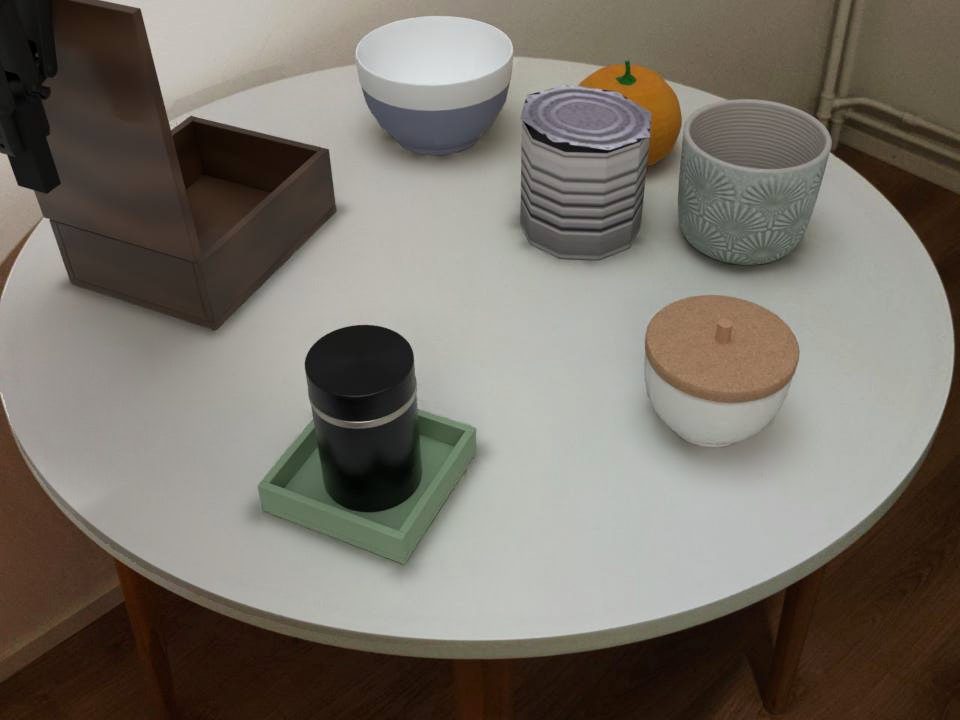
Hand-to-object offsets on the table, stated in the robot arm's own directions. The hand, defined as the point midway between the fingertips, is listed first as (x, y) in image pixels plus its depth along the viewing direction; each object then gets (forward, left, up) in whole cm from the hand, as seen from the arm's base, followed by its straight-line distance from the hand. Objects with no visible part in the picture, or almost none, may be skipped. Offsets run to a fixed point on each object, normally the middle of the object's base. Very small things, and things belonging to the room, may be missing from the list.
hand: (39, 184), depth 76 cm
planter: (+37, -44, -16) cm, 59 cm away
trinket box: (+13, -48, -16) cm, 52 cm away
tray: (-3, -28, -16) cm, 32 cm away
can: (+33, -30, -16) cm, 47 cm away
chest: (+16, 0, -16) cm, 22 cm away
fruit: (+47, -29, -16) cm, 57 cm away
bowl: (+43, -10, -16) cm, 47 cm away
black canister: (-3, -28, -15) cm, 32 cm away
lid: (+6, 0, +2) cm, 6 cm away
